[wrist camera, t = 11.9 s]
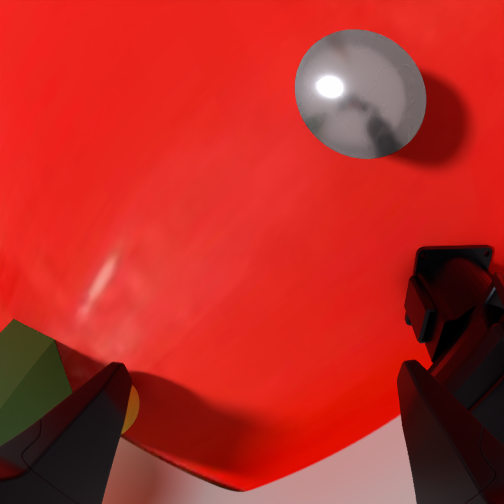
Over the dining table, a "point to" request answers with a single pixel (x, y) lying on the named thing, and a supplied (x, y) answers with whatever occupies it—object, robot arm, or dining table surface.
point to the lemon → (131, 409)
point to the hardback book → (28, 378)
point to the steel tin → (360, 94)
